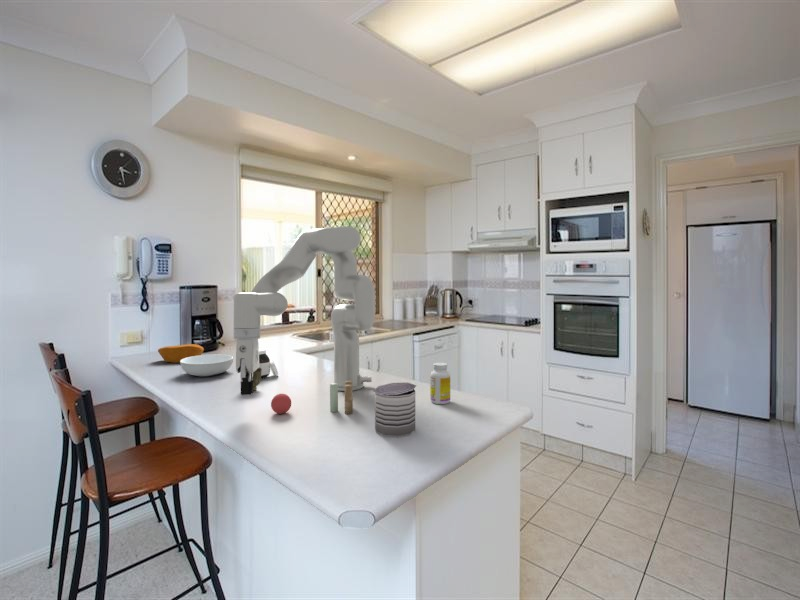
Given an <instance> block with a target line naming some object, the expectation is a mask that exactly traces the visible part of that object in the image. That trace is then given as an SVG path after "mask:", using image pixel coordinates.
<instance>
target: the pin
mask: <svg viewBox="0 0 800 600" xmlns="http://www.w3.org/2000/svg"><path fill="white" fill-rule="evenodd" d="M353 392H354V390H353V389H352V385H345V391H344V414H345V415H352V414H353V412H354V410H353V409H354V408H353V407H354V406H353V405H354V403H353V399H354V398H353V397H354V396H353Z"/></svg>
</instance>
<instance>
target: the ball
mask: <svg viewBox="0 0 800 600" xmlns="http://www.w3.org/2000/svg"><path fill="white" fill-rule="evenodd" d="M291 399H292V398H291V397H290V396H289V395H288V394H286V393H278V394H276V395H275V396H273V398H272V400H271V401H270V407H271V410H272V411H273V412H274V413H276V414H279V415H282V414H285V413H287V412H289V410H290V409H291V407H292V400H291Z"/></svg>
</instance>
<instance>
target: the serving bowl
mask: <svg viewBox="0 0 800 600" xmlns="http://www.w3.org/2000/svg"><path fill="white" fill-rule="evenodd" d="M233 362H234V356H233V355H229V354H219V353H218V354H215V353H214V354H213V353H212V354H211V353H210V354H201V355H199V356H192V357H187V358H184V359H182V360H180V363H179V364H180V367H181V369H182V371H184V372H185V373H186V374H189V375H192V376H197V377H212V376H217V375H218V374H223V373H225V372H226V371H228V370H229V369H230V368H231V367H232V364H233Z"/></svg>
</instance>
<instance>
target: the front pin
mask: <svg viewBox="0 0 800 600" xmlns="http://www.w3.org/2000/svg"><path fill="white" fill-rule="evenodd" d="M329 403H330V404H329V406H330V407H329V410H330V413H338V412H339V391H338V384H337V383H333V382H331V383H330V384H329Z"/></svg>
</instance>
